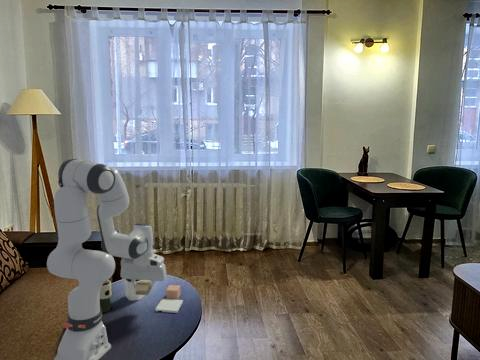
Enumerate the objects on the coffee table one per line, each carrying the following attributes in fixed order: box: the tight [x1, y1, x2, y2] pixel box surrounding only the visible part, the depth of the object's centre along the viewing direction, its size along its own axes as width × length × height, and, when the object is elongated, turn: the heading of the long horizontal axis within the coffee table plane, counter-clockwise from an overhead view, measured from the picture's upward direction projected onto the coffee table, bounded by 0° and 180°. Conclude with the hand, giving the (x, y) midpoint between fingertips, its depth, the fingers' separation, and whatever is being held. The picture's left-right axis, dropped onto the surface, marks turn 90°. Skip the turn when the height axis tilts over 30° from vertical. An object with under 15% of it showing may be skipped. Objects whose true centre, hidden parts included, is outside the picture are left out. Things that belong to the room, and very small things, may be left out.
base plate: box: [154, 298, 184, 314], centre depth 187 cm, size 10×10×1 cm
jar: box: [124, 279, 146, 301], centre depth 195 cm, size 9×8×12 cm
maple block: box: [135, 280, 153, 296], centre depth 182 cm, size 6×6×4 cm
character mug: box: [100, 279, 113, 313], centre depth 182 cm, size 11×7×13 cm, turn 170°
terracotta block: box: [165, 284, 182, 300], centre depth 196 cm, size 6×6×4 cm
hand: (143, 288), depth 182 cm, fingers closed on maple block, 5 cm apart
